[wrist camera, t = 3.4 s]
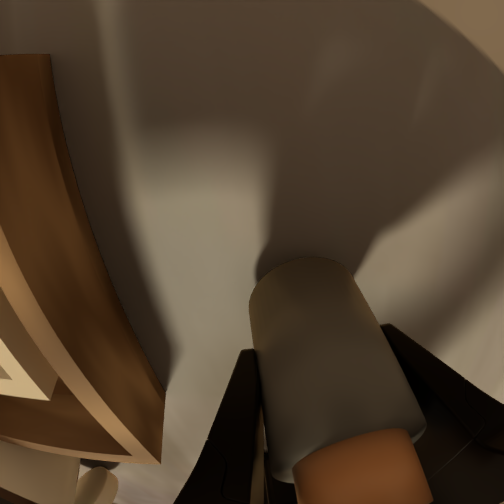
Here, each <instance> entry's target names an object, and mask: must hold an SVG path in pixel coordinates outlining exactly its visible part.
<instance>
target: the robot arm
mask: <svg viewBox="0 0 504 504" xmlns="http://www.w3.org/2000/svg"><path fill="white" fill-rule="evenodd" d="M380 328H381V329H382V331H383V333H384V335H385V337H386V339H387V341H388V343H389V345H390V347H391V349H392V351H393V353H394V355H395V357H396V359H397V361H398V363H399V365H400V367H401V369H402V371H403V373H404V375H405V377H406V379H407V381H408V383H409V385H410V387H411V389H412V391H413V393H414V396H415V398H416V400H417V402H418V404H419V406H420V409H421V411H422V413H423V415H424V417H425V420H426V422H427V427H426V429H425V431H424V433H423V434H422V436H421V437H420V438H419V439H418V440H417V441H416V442H415V443H414V444H413V445H414V448H415V451H416V453H417V456H418V458H419V461H420V464H421V466H422V469H423V472H424V474H425V477H426V480H427V483H428V485H429V488H430V491H431V494H432V497H433V501H432V502H431V503H429V504H504V404H502V403H500V402H499V401H497V400H495V399H494V398H492V397H491V396H489V395H488V394H486V393H484V392H483V391H482V390H480V389H479V388H477V387H476V386H475V385H473V384H472V383H470V382H469V381H468V380H466V379H465V378H464V377H462V376H461V375H460V374H458V373H457V372H456V371H454V370H453V369H452V368H450V367H449V366H448V365H446V364H445V363H444V362H442V361H441V360H440V359H438V358H437V357H435V356H434V355H433V354H431V353H430V352H429V351H427V350H426V349H425V348H423V347H422V346H421V345H419V344H418V343H416V342H415V341H414V340H412V339H411V338H410V337H408V336H407V335H405V334H404V333H403V332H401V331H400V330H399V329H397V328H396V327H394V326H393V325H392V324H389V323H388V324H383V325H380ZM207 439H208V440H206V442H205V445H204V447H203V450H202V452H201V454H200V457H199V459H198V461H197V463H196V465H195V467H194V469H193V471H192V473H191V475H190V476H189V478H188V480H187V482H186V483H185V485H184V487H183V488H182V490H181V492H180V493H179V495H178V497H177V498H176V500H175V501H174V503H173V504H298V501H297V496H296V490H295V485H294V483H287V482H282V481H279V480H277V479H275V478H274V477H273V476H272V474H271V469H270V462H269V455H268V454H264V420H263V412H262V405H261V396H260V385H259V377H258V370H257V363H256V356H255V350H254V349H252V348H251V349H244V350H241V352H240V354H239V357H238V360H237V362H236V365H235V368H234V370H233V373H232V375H231V378H230V381H229V383H228V386H227V389H226V391H225V394H224V396H223V399H222V402H221V404H220V407H219V409H218V412H217V414H216V417H215V420H214V422H213V425H212V427H211V430H210V432H209V435H208V437H207Z"/></svg>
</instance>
